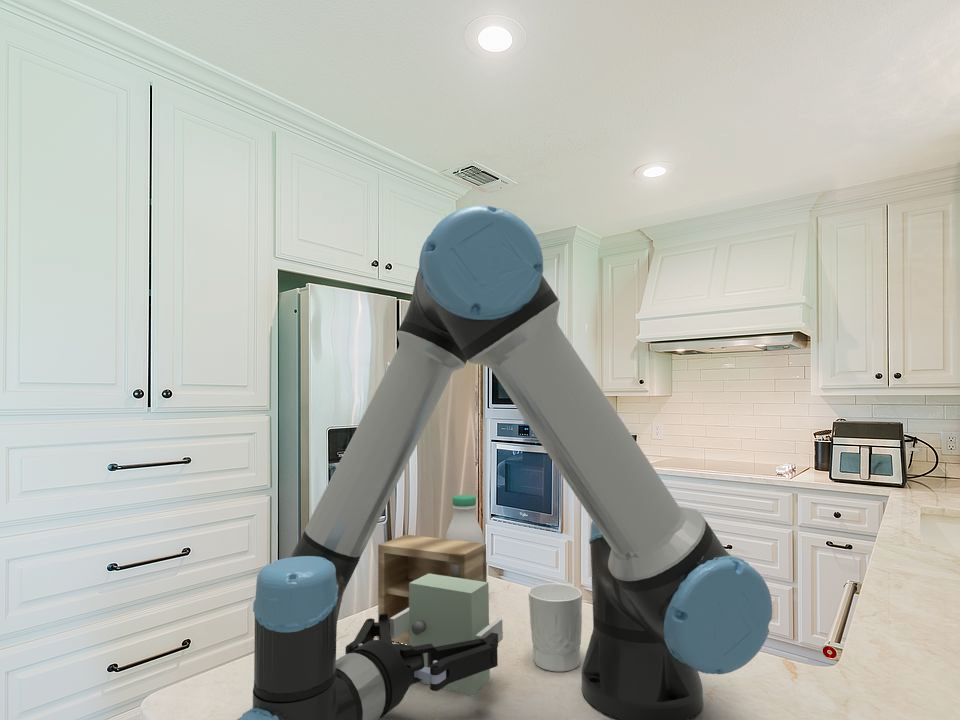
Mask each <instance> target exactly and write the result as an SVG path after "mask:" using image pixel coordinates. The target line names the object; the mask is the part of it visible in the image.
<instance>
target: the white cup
mask: <svg viewBox="0 0 960 720" xmlns="http://www.w3.org/2000/svg"><path fill="white" fill-rule="evenodd" d="M528 605H529V618H530V619H529V620H530V621H529V622H530V630H531V641H532V654H533V655H532V656H533V661H534V663H535V665H536V666H538V667H539V668H541V669H543V670H546V671H551V672H563V673H564V672H568V671H573V670H574V669H577V667H579V665H580V663H581V644H582V625H583V624H582V622H583V621H582V619H583V618H582V617H583V616H582V613H583V611H582V609H583V607H582V606H583V591H582V590H581V589H580V588H578V587H576V586H573V585H569V584H564V583H554V582H552V583H550V582H549V583H542V584H537V585H534V586H532V587H530V588H529V589H528Z"/></svg>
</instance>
